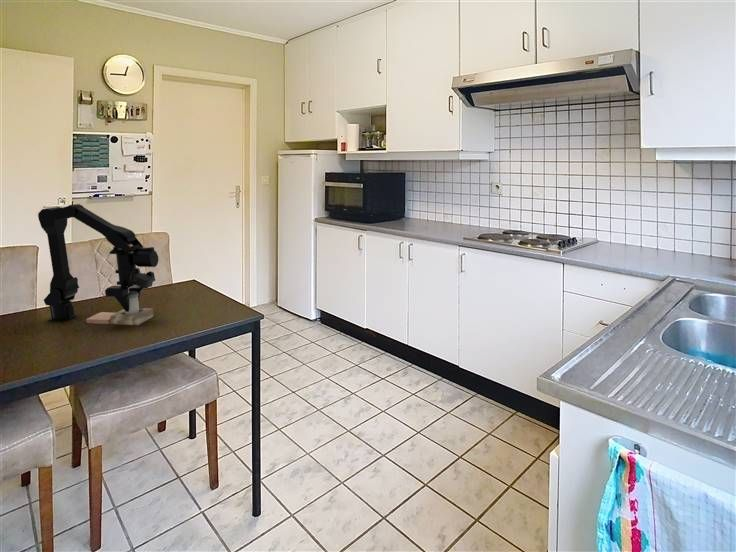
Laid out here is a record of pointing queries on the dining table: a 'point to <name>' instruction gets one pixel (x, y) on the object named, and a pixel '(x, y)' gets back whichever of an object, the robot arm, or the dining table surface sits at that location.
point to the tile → (100, 318)
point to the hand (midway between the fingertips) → (131, 309)
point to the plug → (133, 304)
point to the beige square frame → (132, 317)
